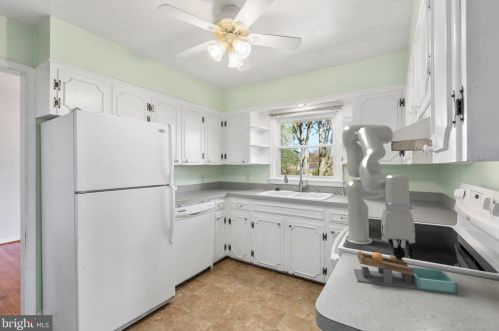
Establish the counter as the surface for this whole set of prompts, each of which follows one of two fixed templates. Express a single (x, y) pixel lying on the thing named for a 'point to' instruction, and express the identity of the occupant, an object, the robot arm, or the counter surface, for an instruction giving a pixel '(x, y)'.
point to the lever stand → (384, 277)
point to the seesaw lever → (386, 263)
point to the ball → (377, 257)
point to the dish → (433, 280)
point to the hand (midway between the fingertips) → (398, 257)
